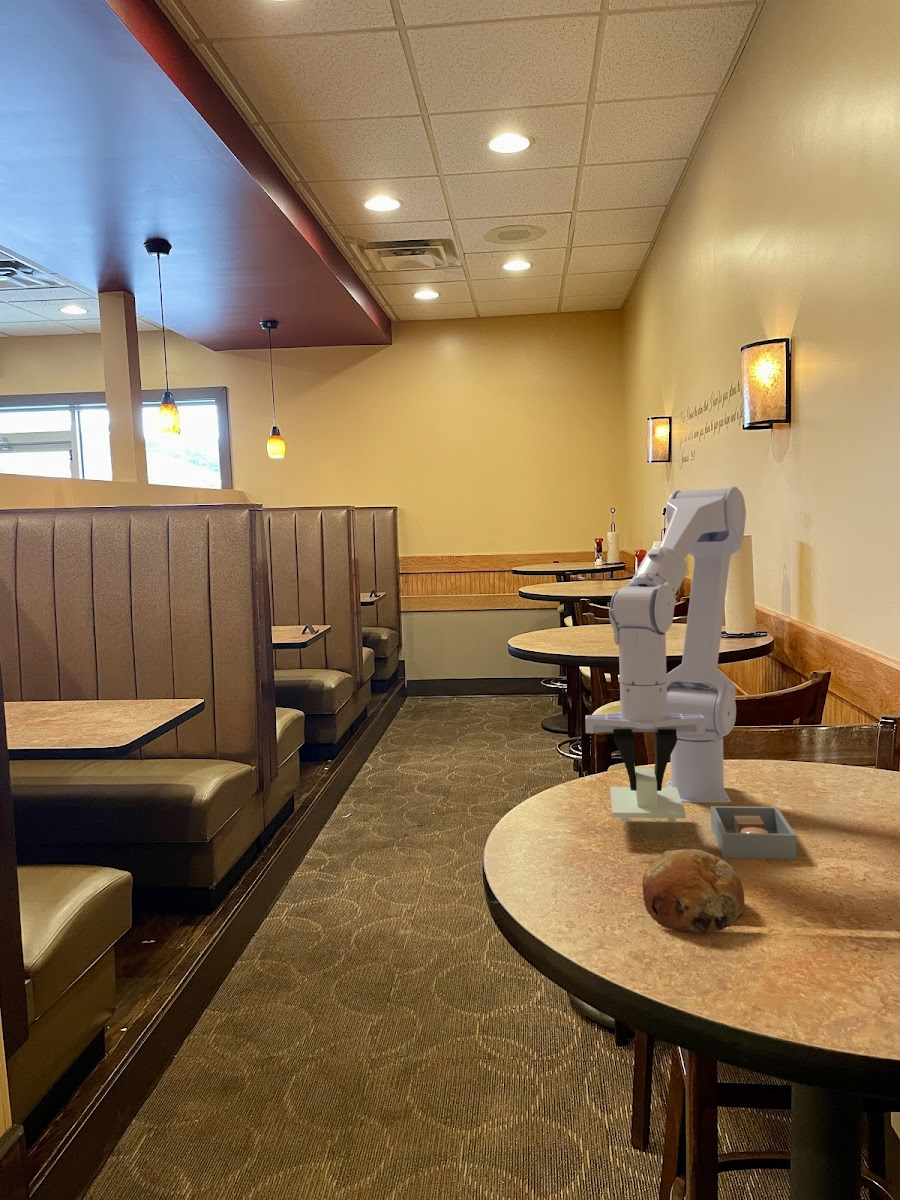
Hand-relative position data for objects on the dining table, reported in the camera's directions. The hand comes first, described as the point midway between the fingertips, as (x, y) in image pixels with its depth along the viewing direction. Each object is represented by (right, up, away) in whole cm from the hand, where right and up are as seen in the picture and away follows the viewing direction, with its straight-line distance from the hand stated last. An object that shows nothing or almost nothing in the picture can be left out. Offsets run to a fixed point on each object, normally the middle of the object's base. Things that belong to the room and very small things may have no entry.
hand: (645, 788), depth 107 cm
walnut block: (+12, -5, -4) cm, 13 cm away
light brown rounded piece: (+11, -5, -7) cm, 14 cm away
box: (+11, -6, -5) cm, 14 cm away
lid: (0, -2, 0) cm, 2 cm away
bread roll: (0, -8, -22) cm, 23 cm away
